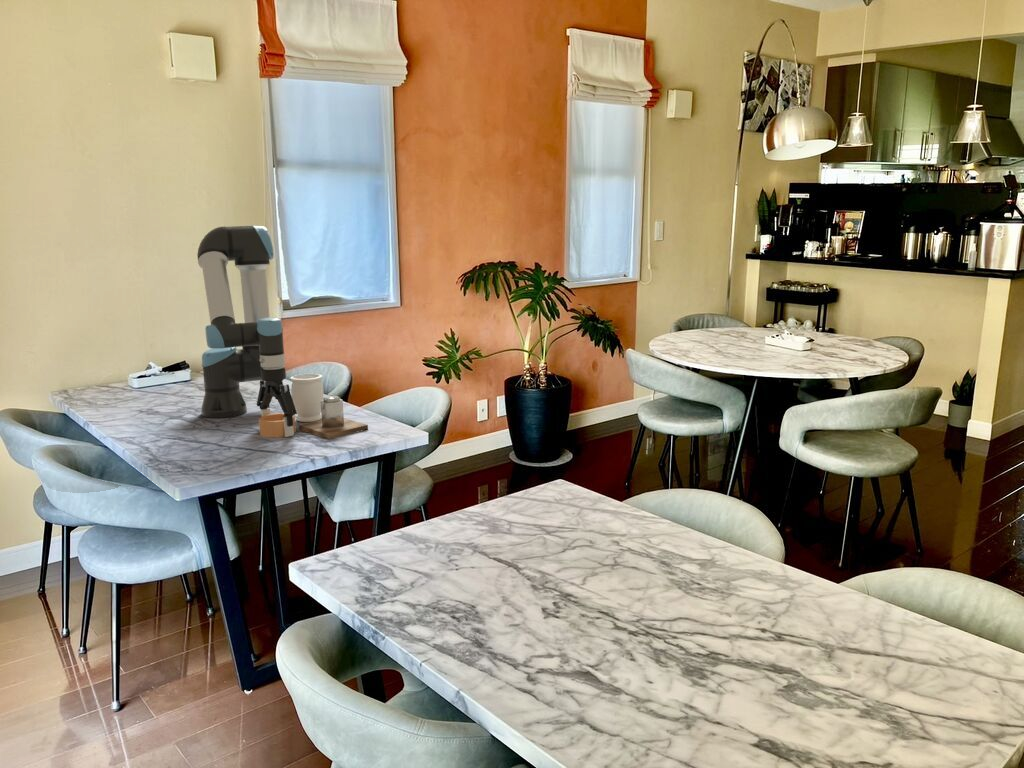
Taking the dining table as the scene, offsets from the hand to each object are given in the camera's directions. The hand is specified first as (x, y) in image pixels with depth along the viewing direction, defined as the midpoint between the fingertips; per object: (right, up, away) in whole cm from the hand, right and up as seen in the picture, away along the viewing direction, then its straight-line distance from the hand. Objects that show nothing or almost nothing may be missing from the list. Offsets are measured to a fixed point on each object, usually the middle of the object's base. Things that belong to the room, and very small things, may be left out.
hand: (278, 432), depth 264 cm
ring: (0, 0, 0) cm, 0 cm away
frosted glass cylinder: (+17, +2, +3) cm, 18 cm away
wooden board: (+17, +1, +3) cm, 17 cm away
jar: (+6, +3, +16) cm, 18 cm away
